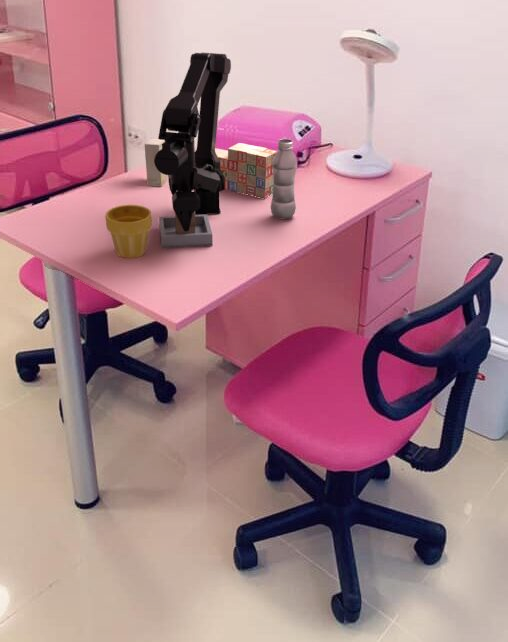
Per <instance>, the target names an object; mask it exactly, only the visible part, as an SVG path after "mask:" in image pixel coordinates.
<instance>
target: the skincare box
mask: <svg viewBox="0 0 508 642" xmlns="http://www.w3.org/2000/svg"><path fill="white" fill-rule="evenodd" d="M164 142H165V140H159V139H158V138H156V137H155V138H154V137H151V138H150V139H149V140H147V141H146V142H145V143H144V154H145V155H144V156H145V158H144V159H145V169H146V170H145V171H146V181H147V183H146V185H147V186H151V187H163V185H165V184H166V183H167V182H168V175H165V174H162V173H161V172H159V171H158V170H157V168H156V166H155V163H154V159H155V155H156V154H157V152H158V151H160V150H161V149H162V144H163V143H164Z"/></svg>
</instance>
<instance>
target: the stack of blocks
mask: <svg viewBox="0 0 508 642" xmlns="http://www.w3.org/2000/svg"><path fill="white" fill-rule="evenodd" d="M215 152H216V154H217V156H218V159H219V161H220V169H221V171H222V173H223V175H224V177H225V189H227V190H226V191H229V190H231V191H230V192H233V191H236V192H235V193H237V192H239V193H238V194H241V193H244V194H243V195H245V194H248V195H253V196H256V197H260V198H264V199H263V200H266V199H267V198H266V197H268V196H270V195H271V194H273V188H274V181H273V168H272V160H273V157H274V156H275V154H276V153H277V152H278V150H275V149H274V150H273V149H268V148H267V147H263V146H256V145H251V144H247V143H241V142H238V143H236V144H234V145H232V146H230V147H228V149H227V150H226V149H221V148H216V147H215ZM248 195H247V196H248ZM271 196H272V195H271ZM271 196H270V197H271ZM256 197H255V198H256ZM260 198H259V199H260ZM265 198H266V199H265ZM268 198H269V197H268Z"/></svg>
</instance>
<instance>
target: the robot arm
mask: <svg viewBox="0 0 508 642" xmlns="http://www.w3.org/2000/svg"><path fill="white" fill-rule="evenodd" d="M189 59H190V60H189V63H190V64H189V66H188V69H187V72H186V74H185V76H184V80H183V82H182V85H181V87H180V90H179V92H178V93H177V95H175V96H174V97H171V98H170V100H169V101H168V103H167V105H166V107H165V109H163V111H162V116H161V122H160V126H159V127H160V128H159V133H158V139H159V140H165V142H164V143H163V144H162V149H161V150H160V151H158V152H157V154H156V155H155V159H154V163H155V166H156V168H157V170H158V171H159V172H161V173H162V174H165V175H168V180H167V182H168V186H169V187H168V188H169V191H170V193H171V205H172V210H173V212H174V215H175V214H176V215H177V217H178V220H179V221H180V224H181V226H182V228H183V230H184V231H189V228H190V223H191V219H192V214H193V212H194V213H195V215H205V214H207V215H218V214H219V213H220V214H221V212H222V211H221V207H220V193H221V192H222V191H226V190H225V177H224V175H223V173H222V171H221V169H220V161H219V159H218V156H217V154H216V152H215V148H216V146H217V145H216V143H217V133H218V132H217V131H218V122H219V121H218V120H219V111H220V110H219V109H220V97H221V91H222V90H223V88H224V87H225V86H226V84H227V83H228V78H229V75H230V73H231V70H232V69H231V68H232V61H231V59H230V58H228V55H227V54H225V53H211V52H194V53H192V54H191V55H190V58H189ZM199 103H200V105H199ZM198 105H199V109H198ZM171 131H172V132H171ZM195 138H197V139H196V140H197V143H196V145H195ZM195 146H196V148H195ZM220 214H219V215H220Z"/></svg>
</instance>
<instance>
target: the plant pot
mask: <svg viewBox="0 0 508 642" xmlns="http://www.w3.org/2000/svg"><path fill="white" fill-rule="evenodd" d="M104 216H105V226H106V230H107V231H108V232H109V234H110V235H111V240H112V241H113V245H114V248H115V251H116V254H117V255H118V256H119V257H122V258H126V259H133V258H139V257H141V256H143V255H144V254H145V253H146V249H147V244H148V239H149V232H150V230H151V228H152V226H153V223H152V222H153V219H152V218H153V217H152V211H151V209H149V208H148V207H146V206H144V205H143V206H142V205H138V204H123V205H117V206H115V207H112V208H109V209H108V210H107V211H106V213H105V215H104Z"/></svg>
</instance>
